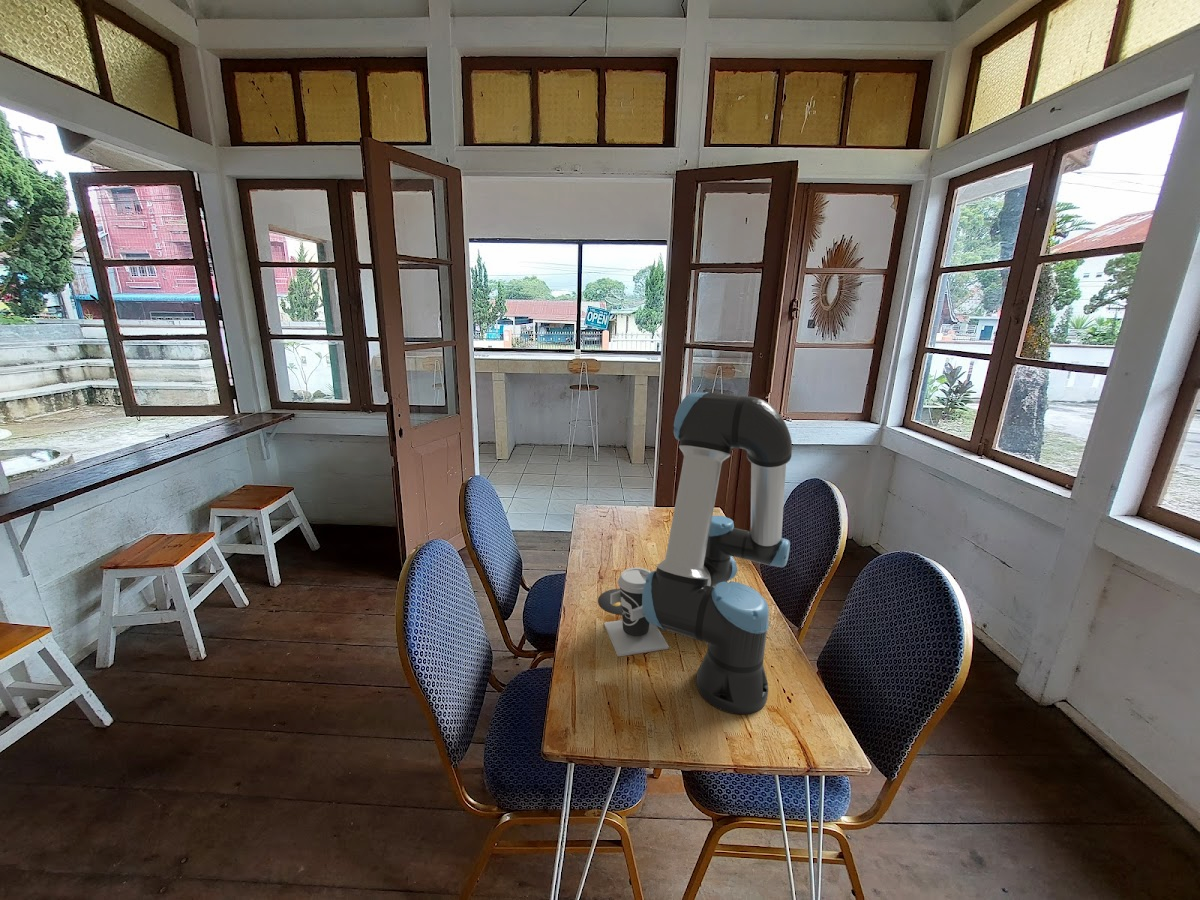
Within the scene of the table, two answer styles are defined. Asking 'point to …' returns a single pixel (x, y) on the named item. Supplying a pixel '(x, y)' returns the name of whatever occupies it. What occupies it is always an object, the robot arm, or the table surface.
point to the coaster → (606, 605)
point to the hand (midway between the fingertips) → (621, 607)
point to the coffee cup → (633, 599)
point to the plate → (634, 639)
